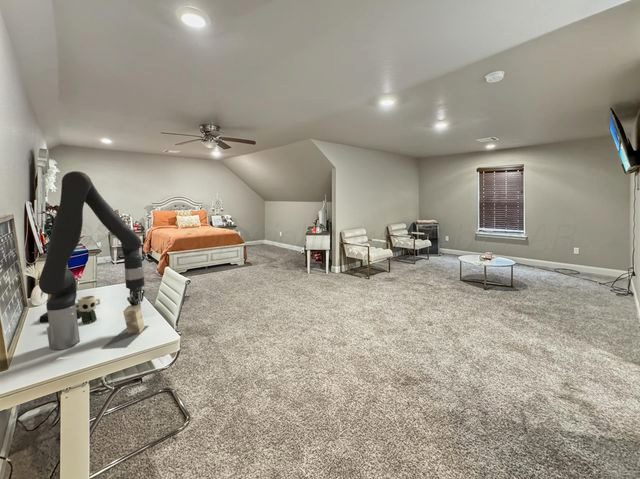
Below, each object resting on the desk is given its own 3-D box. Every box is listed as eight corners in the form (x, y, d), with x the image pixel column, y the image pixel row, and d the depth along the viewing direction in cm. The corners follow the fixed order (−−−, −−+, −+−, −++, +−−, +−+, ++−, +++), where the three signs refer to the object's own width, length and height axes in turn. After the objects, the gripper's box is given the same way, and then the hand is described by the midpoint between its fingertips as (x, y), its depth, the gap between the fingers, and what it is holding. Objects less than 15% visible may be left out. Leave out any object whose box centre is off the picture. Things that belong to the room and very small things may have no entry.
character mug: (77, 327, 147) (74, 301, 145) (74, 323, 151) (71, 299, 149) (104, 320, 155) (101, 296, 153) (99, 317, 160) (97, 293, 158)
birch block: (128, 334, 137) (123, 311, 133) (133, 327, 141) (128, 305, 137) (140, 333, 137) (135, 310, 133) (144, 326, 142) (140, 304, 138)
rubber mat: (100, 351, 123) (100, 349, 123) (127, 328, 144) (127, 327, 144) (126, 349, 124) (126, 347, 124) (149, 327, 146) (149, 325, 146)
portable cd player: (56, 312, 168) (55, 305, 167) (92, 309, 173) (91, 302, 172) (39, 324, 152) (38, 316, 152) (79, 319, 157) (78, 312, 157)
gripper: (132, 273, 145) (135, 307, 147) (118, 281, 132) (122, 318, 134) (149, 273, 146) (152, 307, 148) (136, 280, 133) (140, 317, 135)
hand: (137, 312), depth 141 cm, fingers closed
